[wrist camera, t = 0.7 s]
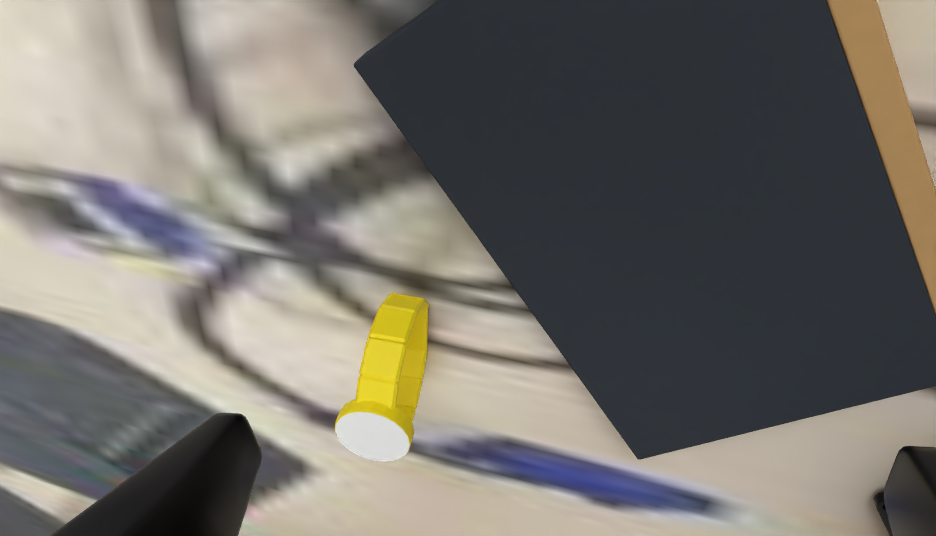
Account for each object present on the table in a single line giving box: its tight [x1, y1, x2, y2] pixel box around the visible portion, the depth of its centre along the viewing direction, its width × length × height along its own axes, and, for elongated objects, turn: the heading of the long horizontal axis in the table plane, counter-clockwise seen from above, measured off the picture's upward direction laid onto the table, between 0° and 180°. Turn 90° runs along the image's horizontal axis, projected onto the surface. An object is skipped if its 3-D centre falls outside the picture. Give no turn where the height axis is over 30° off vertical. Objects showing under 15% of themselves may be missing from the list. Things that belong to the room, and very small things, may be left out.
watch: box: [335, 293, 429, 462], centre depth 24 cm, size 6×3×6 cm, turn 176°
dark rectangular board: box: [354, 0, 936, 459], centre depth 20 cm, size 20×13×1 cm, turn 34°
